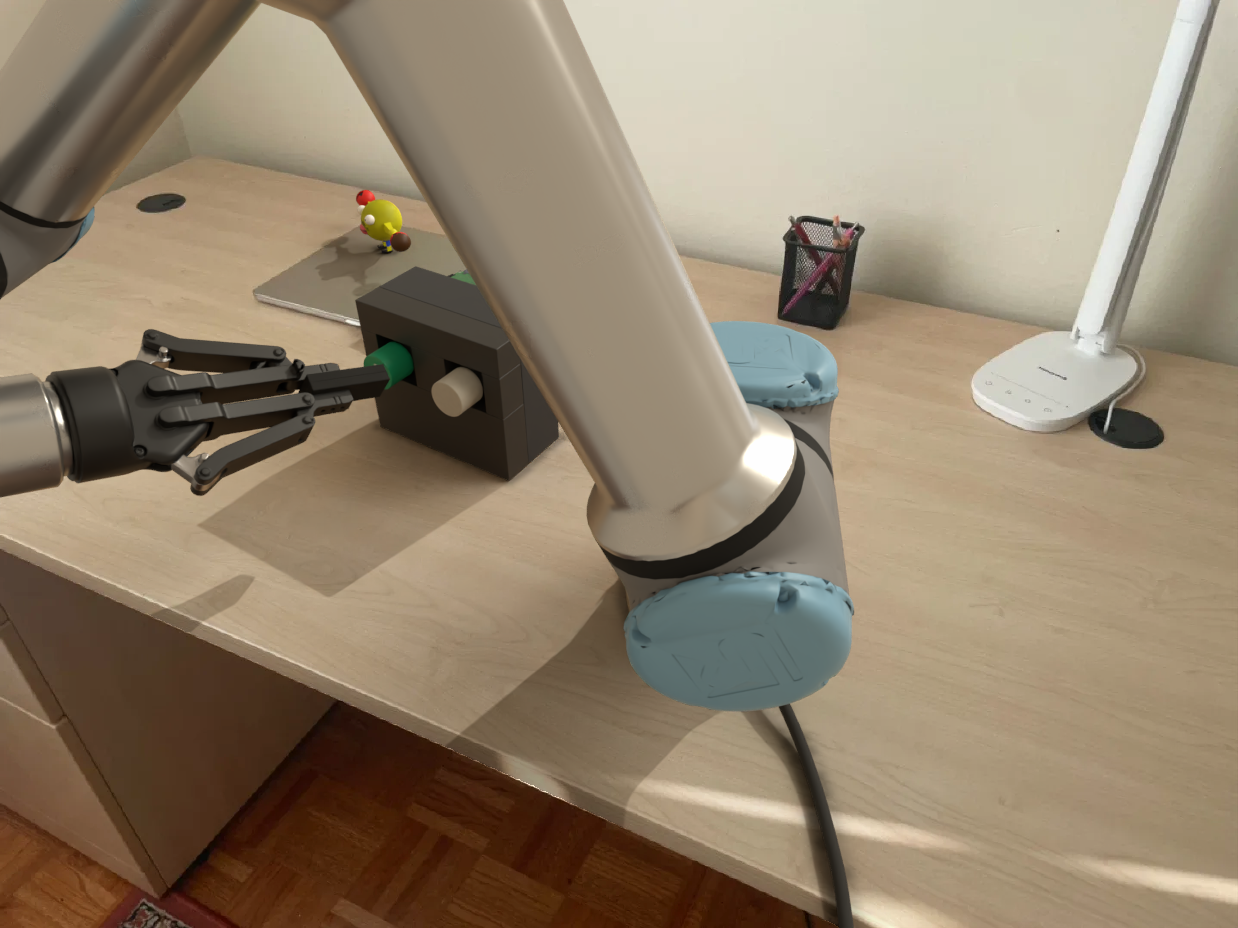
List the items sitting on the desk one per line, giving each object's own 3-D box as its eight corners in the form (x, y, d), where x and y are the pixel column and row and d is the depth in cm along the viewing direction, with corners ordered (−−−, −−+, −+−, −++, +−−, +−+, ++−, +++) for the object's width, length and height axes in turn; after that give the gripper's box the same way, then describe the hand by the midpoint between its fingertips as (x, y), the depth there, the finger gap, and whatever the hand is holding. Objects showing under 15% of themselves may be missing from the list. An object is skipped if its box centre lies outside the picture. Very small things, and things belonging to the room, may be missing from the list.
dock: (509, 481, 83) (496, 349, 74) (380, 426, 90) (354, 299, 81) (559, 437, 88) (552, 309, 80) (433, 388, 95) (415, 265, 86)
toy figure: (347, 229, 126) (337, 181, 122) (385, 221, 128) (378, 174, 124) (385, 281, 114) (376, 231, 110) (427, 272, 116) (420, 222, 112)
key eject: (464, 422, 78) (459, 389, 76) (433, 410, 79) (428, 377, 77) (485, 405, 80) (481, 373, 78) (455, 394, 81) (451, 361, 79)
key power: (393, 394, 81) (388, 362, 79) (366, 383, 83) (359, 351, 81) (416, 379, 83) (411, 347, 81) (388, 368, 85) (383, 336, 82)
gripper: (25, 378, 64) (339, 341, 79) (80, 540, 61) (397, 469, 76) (28, 314, 59) (365, 288, 74) (89, 489, 55) (428, 424, 70)
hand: (381, 380), depth 75 cm, fingers closed
